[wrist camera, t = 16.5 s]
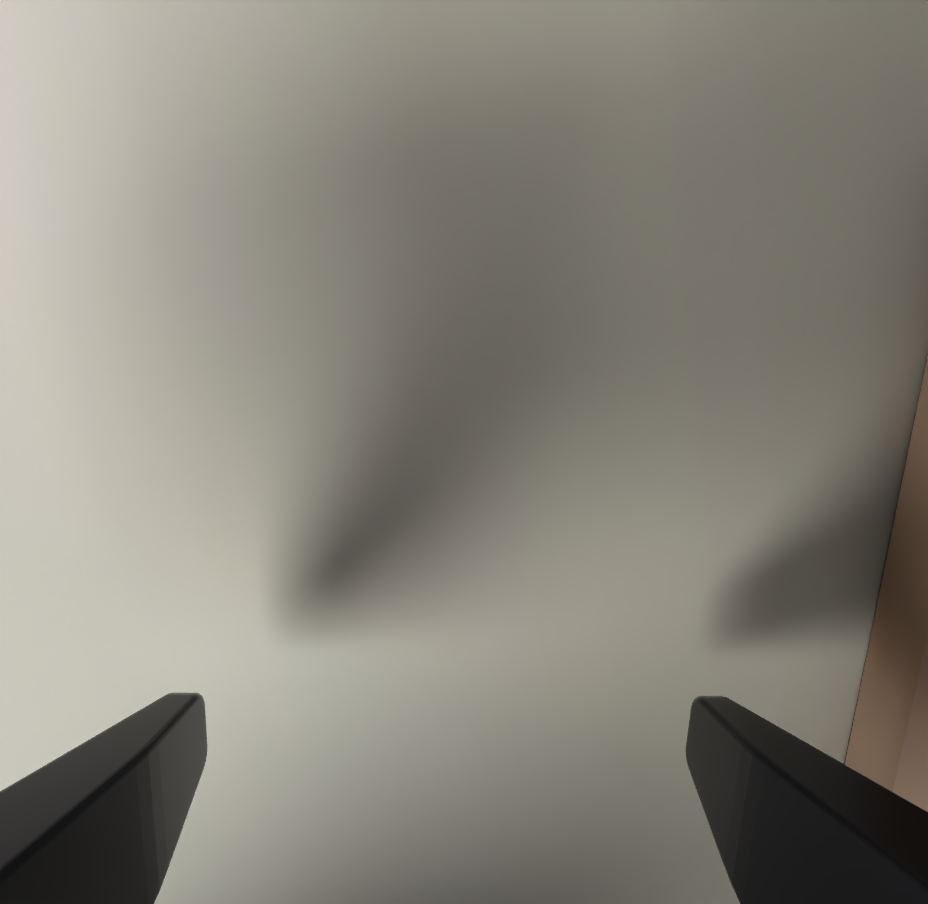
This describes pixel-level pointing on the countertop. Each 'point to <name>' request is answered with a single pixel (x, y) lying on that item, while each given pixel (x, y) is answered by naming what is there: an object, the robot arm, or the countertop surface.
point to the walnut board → (900, 643)
